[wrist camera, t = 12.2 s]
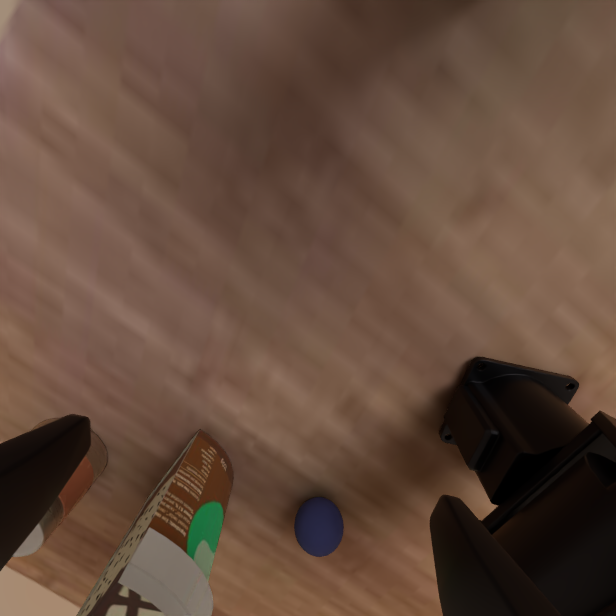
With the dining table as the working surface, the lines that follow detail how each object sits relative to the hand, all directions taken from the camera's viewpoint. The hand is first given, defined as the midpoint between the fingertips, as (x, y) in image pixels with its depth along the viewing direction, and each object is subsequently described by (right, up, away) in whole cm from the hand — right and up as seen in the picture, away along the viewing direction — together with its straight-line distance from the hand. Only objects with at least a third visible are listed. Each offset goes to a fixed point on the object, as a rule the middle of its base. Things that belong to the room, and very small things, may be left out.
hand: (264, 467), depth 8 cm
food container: (-7, -10, +17) cm, 21 cm away
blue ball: (+2, -11, +17) cm, 21 cm away
